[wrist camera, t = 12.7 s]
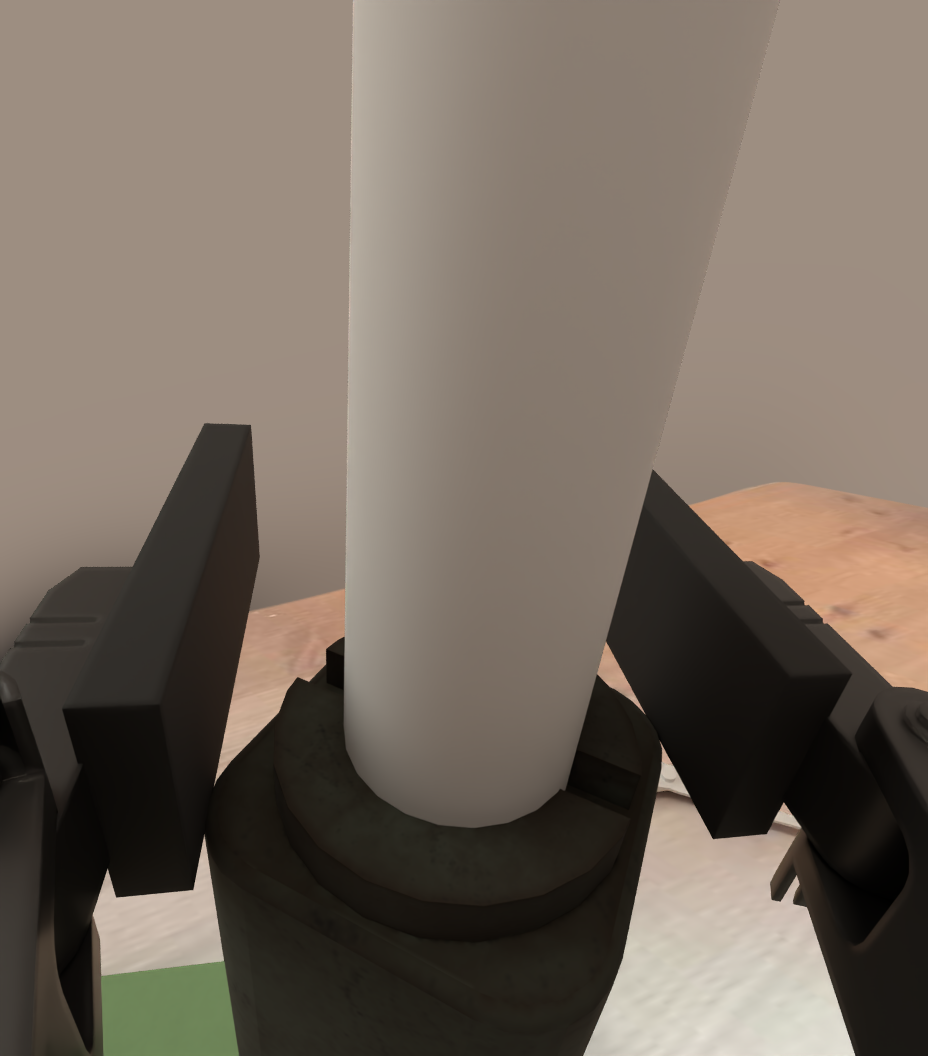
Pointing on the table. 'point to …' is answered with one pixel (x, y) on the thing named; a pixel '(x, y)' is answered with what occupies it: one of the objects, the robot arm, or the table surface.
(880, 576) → the table surface
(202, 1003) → the cloth
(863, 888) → the robot arm
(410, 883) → the candle
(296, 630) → the table surface
